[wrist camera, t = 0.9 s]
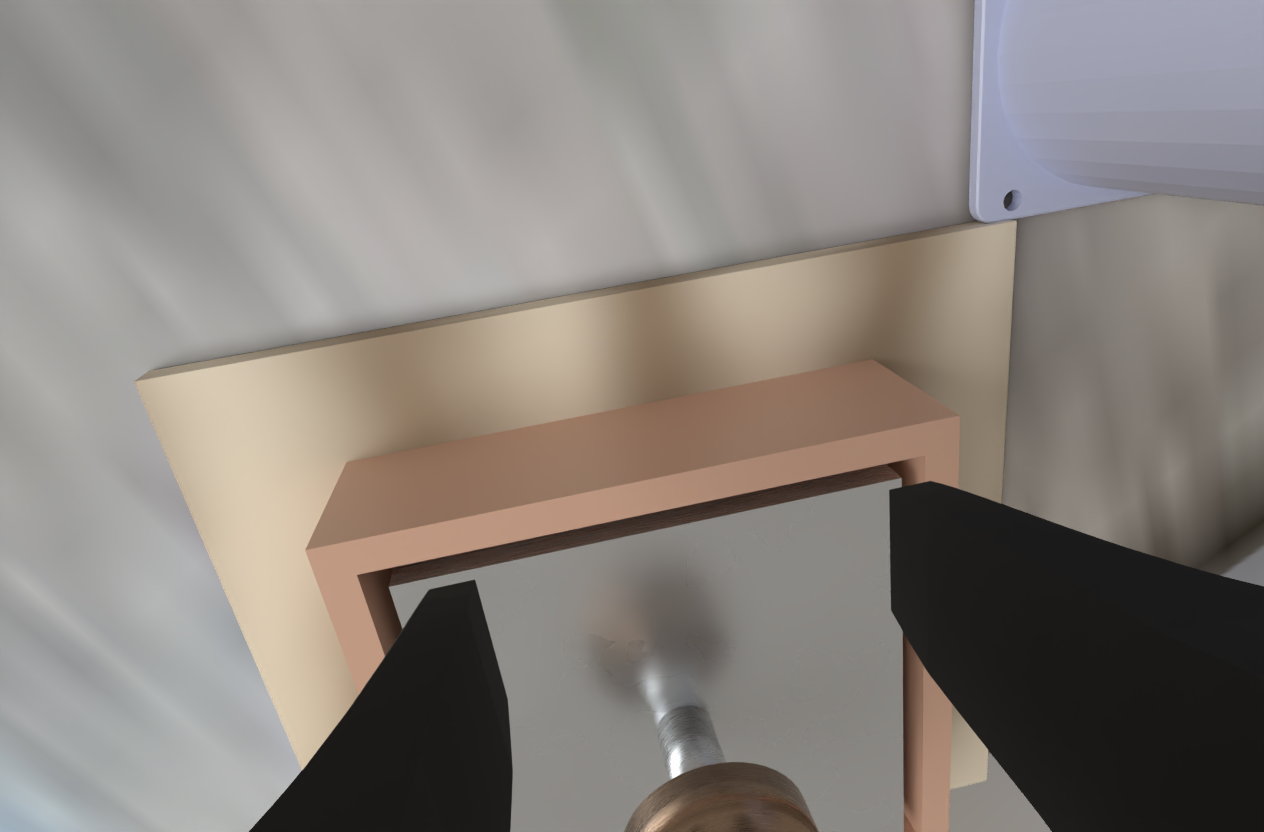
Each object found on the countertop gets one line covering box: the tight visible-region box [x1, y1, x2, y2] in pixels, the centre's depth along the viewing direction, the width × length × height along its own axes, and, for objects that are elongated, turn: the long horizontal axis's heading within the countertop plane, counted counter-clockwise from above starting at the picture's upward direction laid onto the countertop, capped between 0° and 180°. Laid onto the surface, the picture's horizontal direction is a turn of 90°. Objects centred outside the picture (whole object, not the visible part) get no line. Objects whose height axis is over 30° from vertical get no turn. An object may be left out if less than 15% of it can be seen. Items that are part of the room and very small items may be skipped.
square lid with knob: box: [389, 464, 904, 832], centre depth 17 cm, size 11×11×5 cm
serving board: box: [134, 220, 1017, 790], centre depth 22 cm, size 22×20×1 cm
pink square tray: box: [305, 359, 960, 832], centre depth 20 cm, size 14×14×4 cm
